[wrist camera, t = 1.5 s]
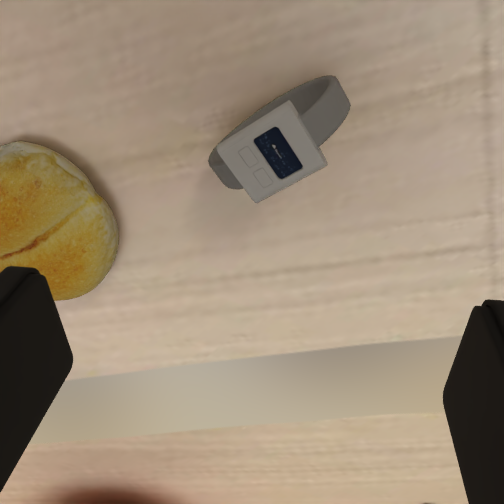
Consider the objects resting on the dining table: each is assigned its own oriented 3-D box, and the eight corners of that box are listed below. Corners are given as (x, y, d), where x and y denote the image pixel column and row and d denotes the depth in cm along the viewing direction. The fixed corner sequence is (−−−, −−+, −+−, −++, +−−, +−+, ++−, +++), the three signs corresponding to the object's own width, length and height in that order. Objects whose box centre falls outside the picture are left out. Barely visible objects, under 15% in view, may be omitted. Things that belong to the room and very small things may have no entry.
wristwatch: (242, 169, 22) (225, 222, 18) (208, 123, 21) (183, 169, 17) (356, 102, 20) (366, 147, 16) (325, 45, 19) (327, 79, 15)
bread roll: (44, 290, 29) (10, 336, 26) (-58, 169, 25) (-115, 206, 21) (153, 258, 26) (130, 304, 23) (61, 116, 22) (17, 150, 19)
